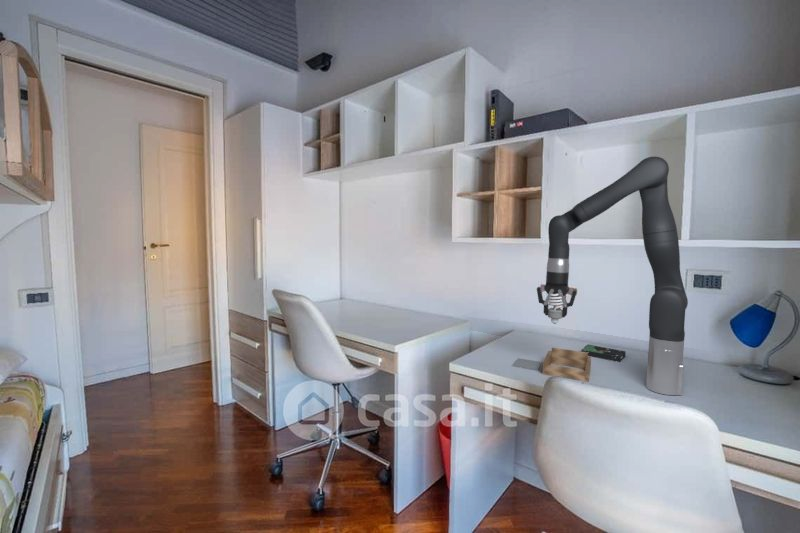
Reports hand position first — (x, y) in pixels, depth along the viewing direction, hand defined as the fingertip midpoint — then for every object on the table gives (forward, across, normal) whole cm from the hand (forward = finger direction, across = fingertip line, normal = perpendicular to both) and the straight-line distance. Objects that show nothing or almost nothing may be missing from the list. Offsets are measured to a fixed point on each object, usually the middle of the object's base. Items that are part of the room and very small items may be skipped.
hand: (554, 315), depth 142 cm
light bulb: (+3, 0, 0) cm, 3 cm away
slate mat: (+20, +9, 0) cm, 22 cm away
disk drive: (+21, -17, -28) cm, 38 cm away
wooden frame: (+20, -5, 0) cm, 21 cm away
